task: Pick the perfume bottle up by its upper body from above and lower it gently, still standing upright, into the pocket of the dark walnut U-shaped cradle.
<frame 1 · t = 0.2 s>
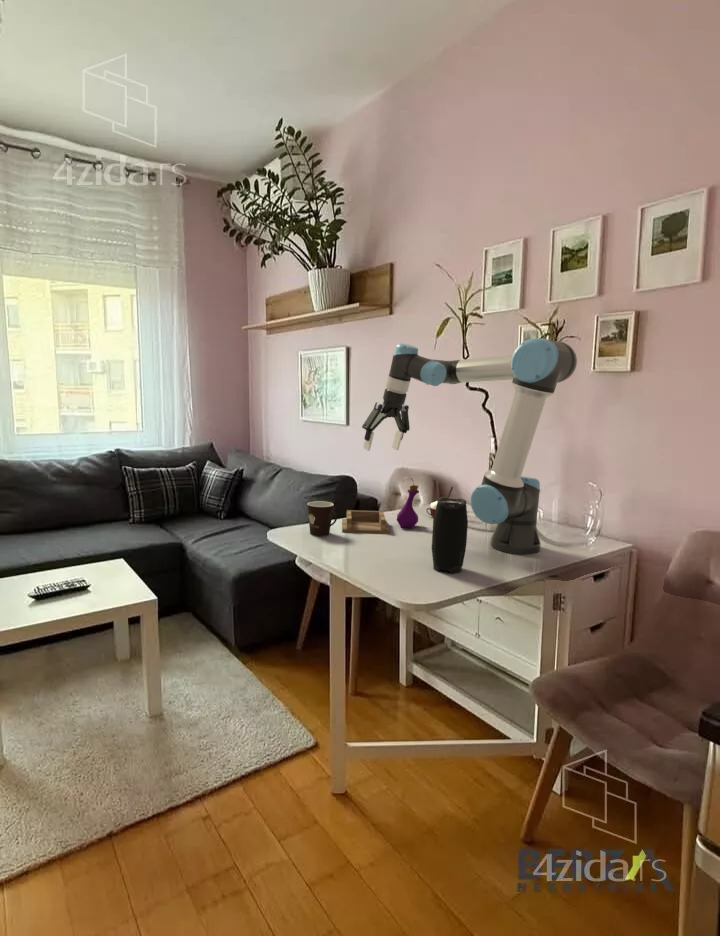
hand: (381, 449, 197), 27 cm above the table, tool tilted 15°, fingers open, 13 cm apart
perfume bottle: (407, 527, 200), on the table
portable speaker: (447, 569, 156), on the table
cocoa: (438, 517, 216), on the table
coffee mug: (320, 535, 185), on the table
walnut cradle: (365, 527, 196), on the table
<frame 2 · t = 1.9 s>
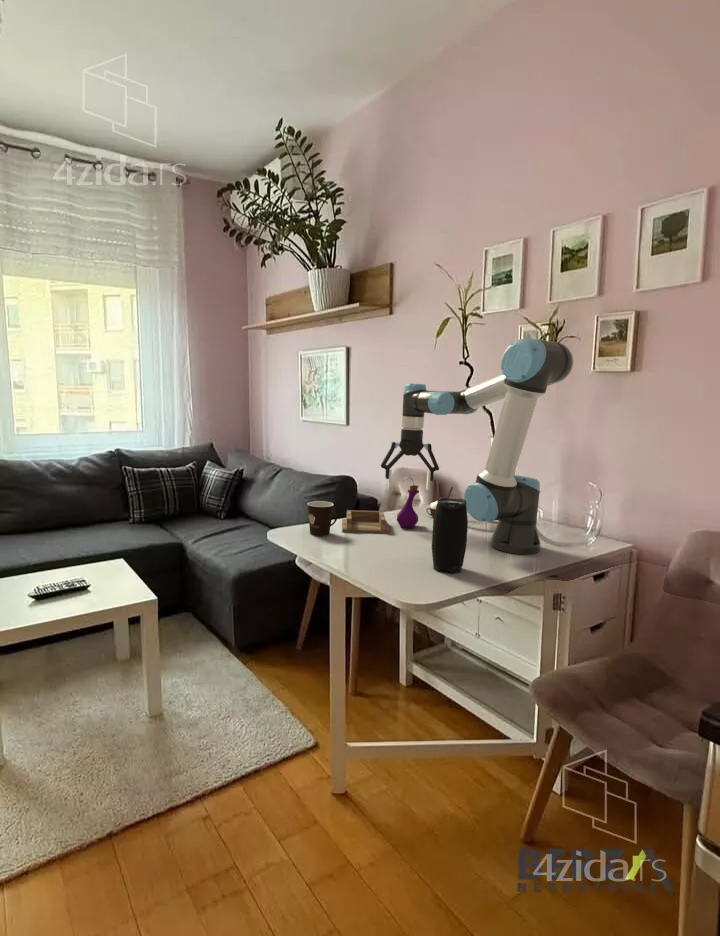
hand: (408, 489, 198), 14 cm above the table, tool pointing down, fingers open, 13 cm apart
nothing on the table moved.
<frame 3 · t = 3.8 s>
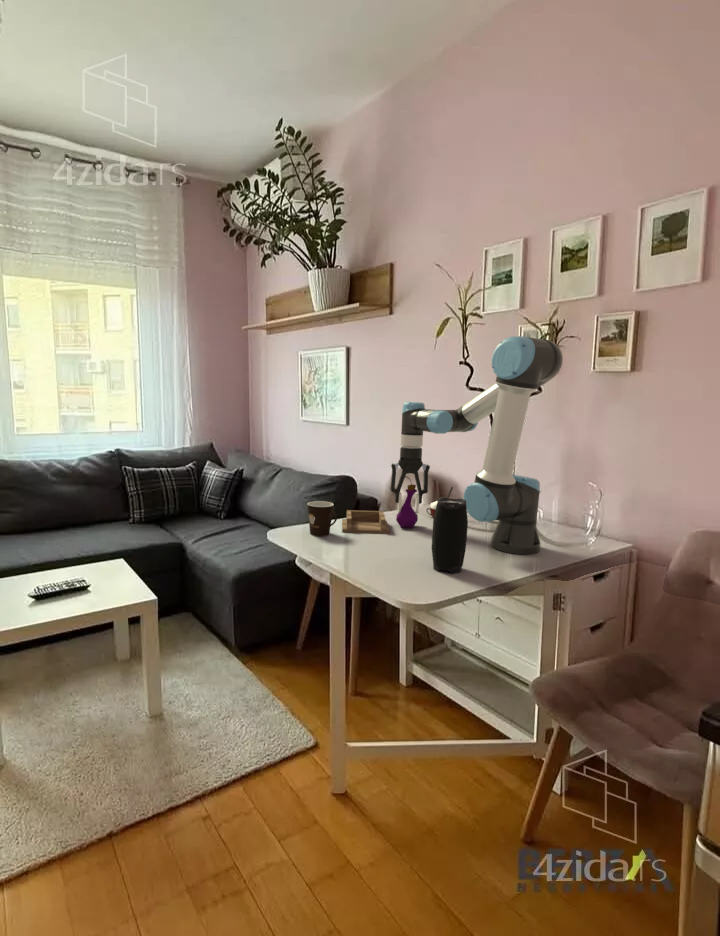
hand: (407, 511, 199), 5 cm above the table, tool pointing down, fingers closed on perfume bottle, 5 cm apart
perfume bottle: (407, 526, 200), on the table, touching gripper
everything else where it was.
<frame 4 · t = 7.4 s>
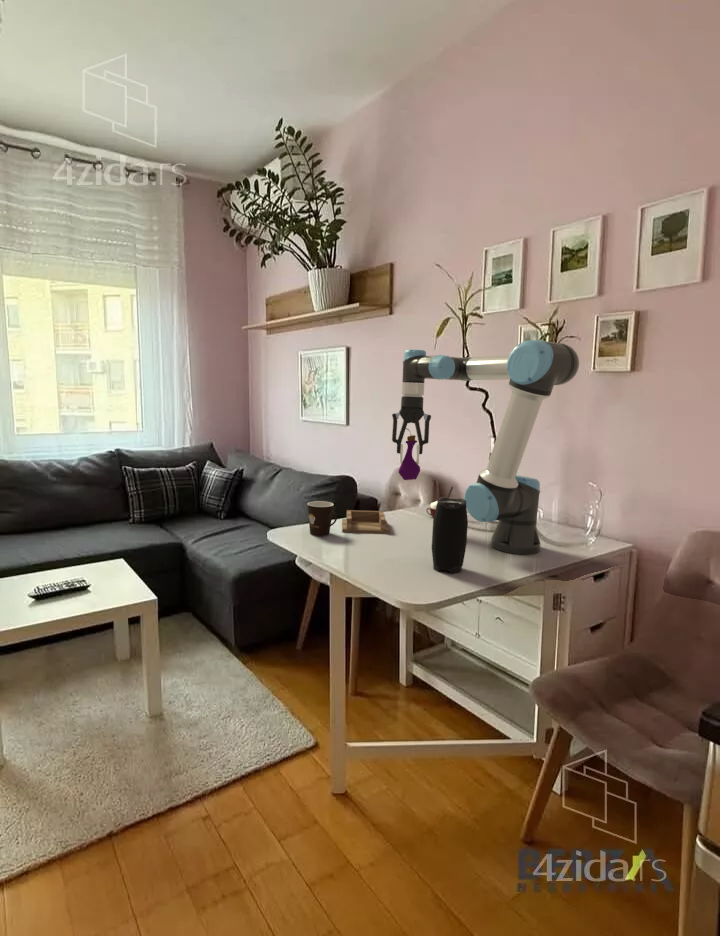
hand: (408, 463, 196), 23 cm above the table, tool pointing down, fingers closed on perfume bottle, 5 cm apart
perfume bottle: (410, 479, 197), point 17 cm above the table, touching gripper
everything else where it was.
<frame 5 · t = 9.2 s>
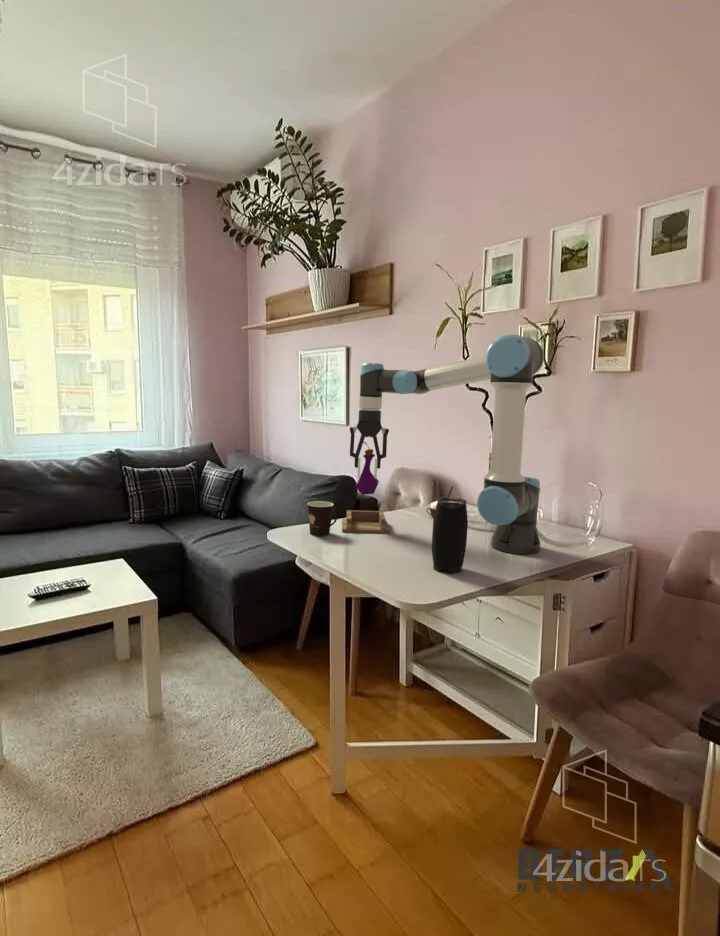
hand: (366, 477, 194), 18 cm above the table, tool pointing down, fingers closed on perfume bottle, 5 cm apart
perfume bottle: (368, 493, 195), point 12 cm above the table, touching gripper
everything else where it was.
when the fingers open (8 cm above the table, at t = 10.9 s): perfume bottle drops 1 cm, resting on walnut cradle.
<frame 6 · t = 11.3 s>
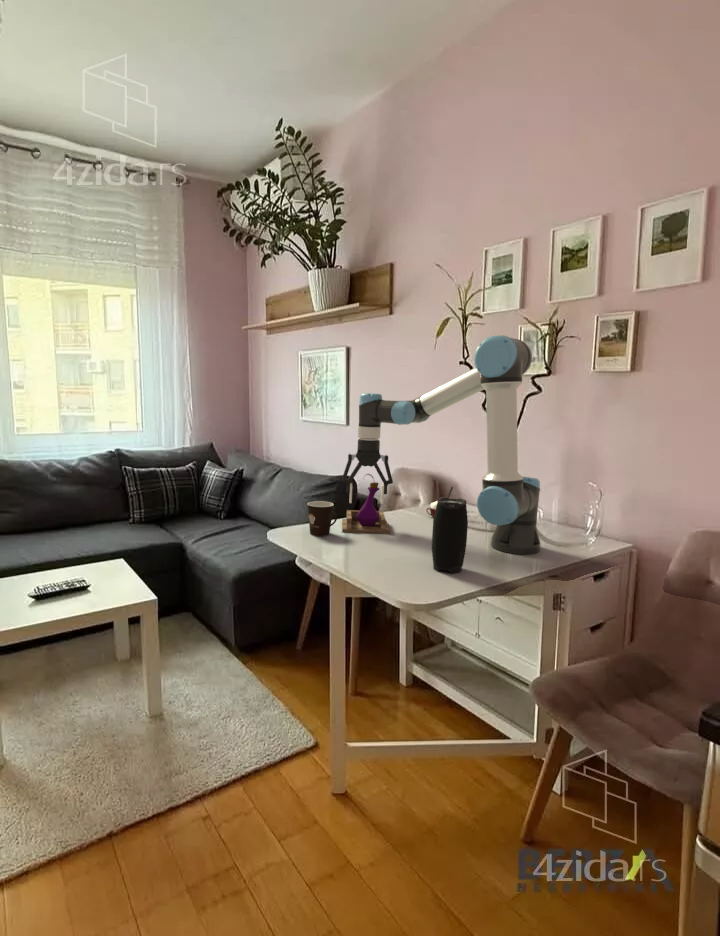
hand: (366, 502, 195), 9 cm above the table, tool pointing down, fingers open, 10 cm apart
perfume bottle: (367, 525, 196), point 1 cm above the table, touching walnut cradle
everything else where it was.
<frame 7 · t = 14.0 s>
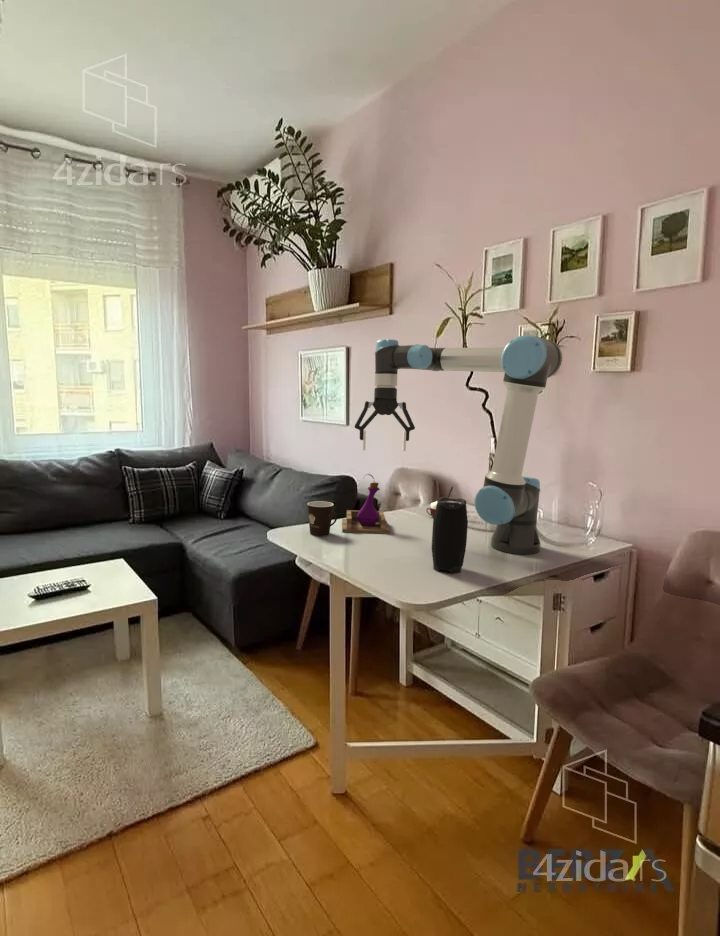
hand: (383, 450, 191), 27 cm above the table, tool pointing down, fingers open, 13 cm apart
nothing on the table moved.
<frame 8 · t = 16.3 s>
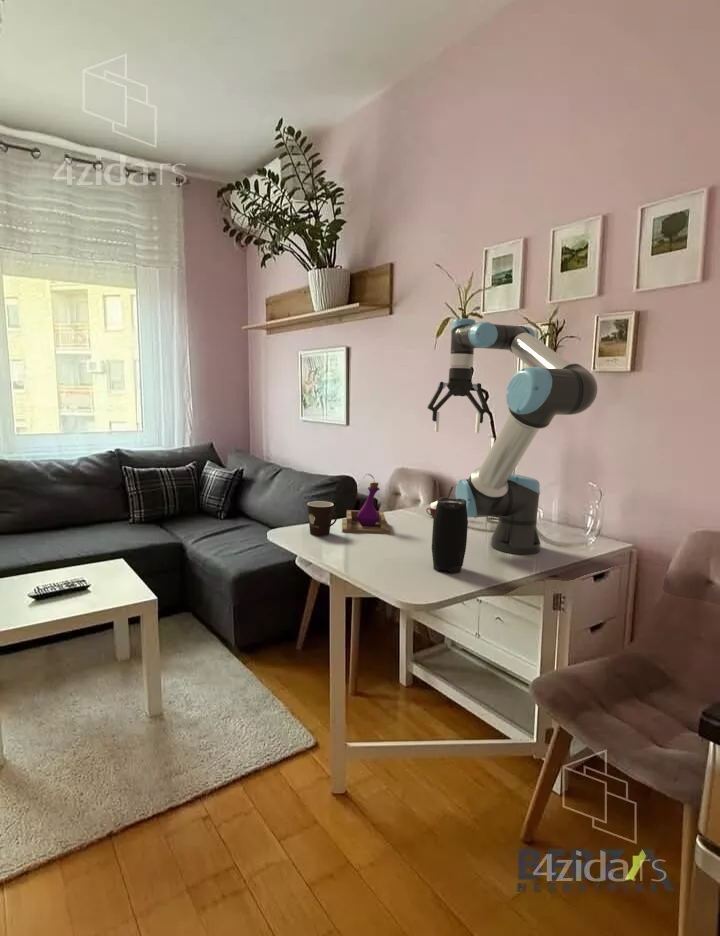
hand: (456, 432, 188), 35 cm above the table, tool pointing down, fingers open, 13 cm apart
nothing on the table moved.
at the end: perfume bottle 0.9 cm off-centre on the walnut cradle, point 0.8 cm above the walnut cradle's base; perfume bottle tilted 0°; the gripper is holding nothing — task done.
